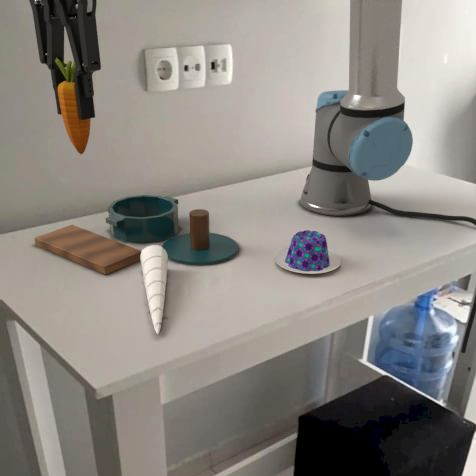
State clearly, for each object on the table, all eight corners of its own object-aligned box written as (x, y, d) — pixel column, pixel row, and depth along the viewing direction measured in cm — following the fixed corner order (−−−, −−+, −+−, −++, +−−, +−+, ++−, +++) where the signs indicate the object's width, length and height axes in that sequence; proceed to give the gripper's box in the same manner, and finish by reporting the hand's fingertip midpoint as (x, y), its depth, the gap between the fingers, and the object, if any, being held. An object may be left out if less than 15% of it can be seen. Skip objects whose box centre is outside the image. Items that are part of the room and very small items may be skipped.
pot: (197, 226, 129) (196, 202, 126) (137, 251, 118) (135, 226, 116) (151, 211, 136) (149, 188, 133) (91, 233, 125) (87, 209, 122)
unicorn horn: (132, 337, 93) (129, 308, 90) (142, 269, 112) (139, 243, 109) (164, 336, 93) (162, 307, 90) (168, 268, 112) (167, 243, 109)
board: (143, 258, 116) (142, 251, 115) (105, 274, 110) (104, 266, 109) (73, 231, 126) (72, 224, 125) (35, 245, 120) (34, 237, 119)
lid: (252, 247, 120) (253, 211, 116) (203, 272, 111) (202, 233, 107) (197, 229, 127) (196, 194, 123) (146, 250, 119) (143, 213, 114)
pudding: (295, 282, 108) (297, 253, 105) (262, 256, 117) (263, 229, 114) (353, 270, 113) (357, 242, 109) (318, 246, 121) (320, 219, 118)
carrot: (60, 155, 108) (45, 56, 99) (79, 148, 111) (66, 52, 102) (83, 159, 106) (70, 59, 97) (102, 152, 109) (91, 55, 101)
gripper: (-5, -59, 93) (24, 111, 107) (72, -57, 84) (94, 128, 98) (37, -59, 98) (60, 104, 112) (115, -57, 89) (130, 120, 103)
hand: (76, 115), depth 105 cm, fingers closed on carrot, 5 cm apart
